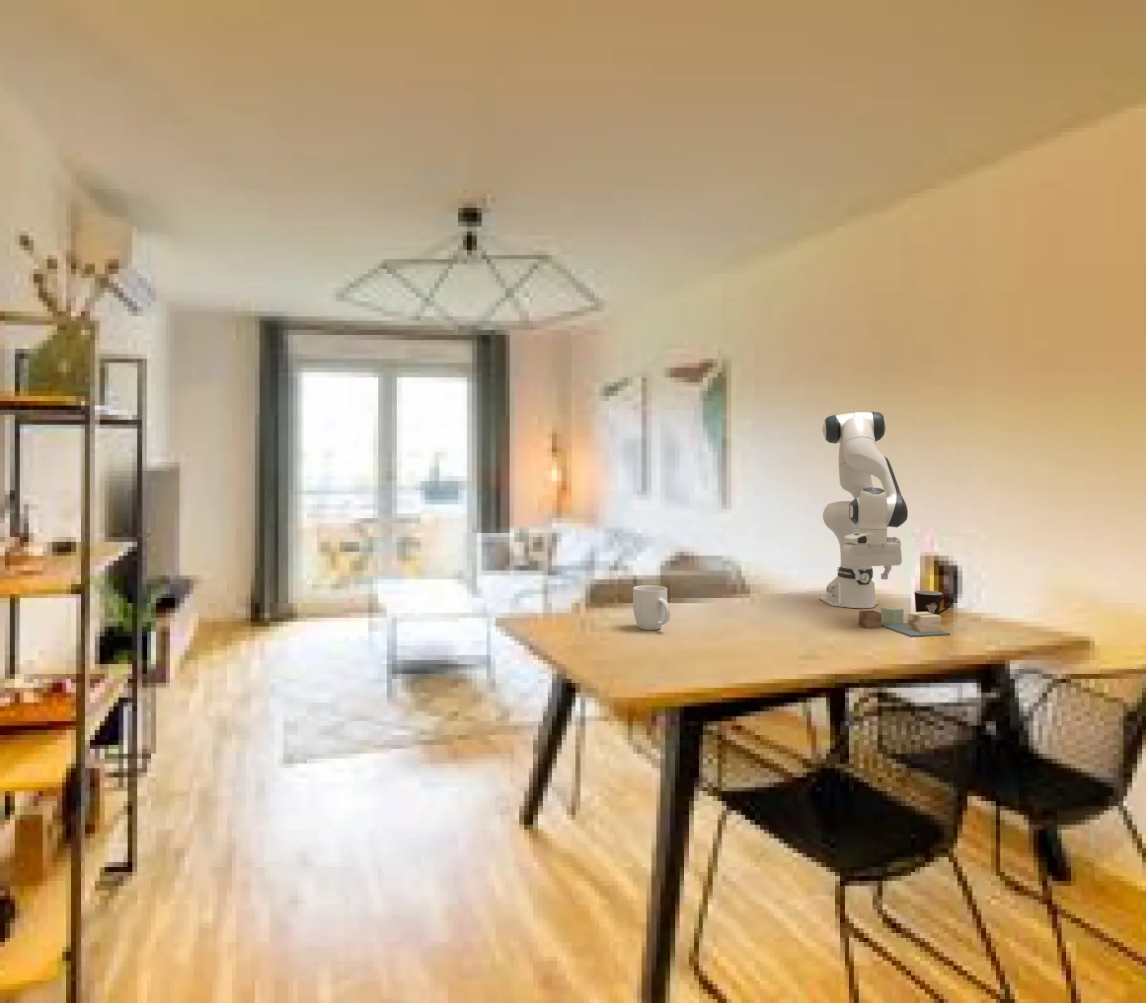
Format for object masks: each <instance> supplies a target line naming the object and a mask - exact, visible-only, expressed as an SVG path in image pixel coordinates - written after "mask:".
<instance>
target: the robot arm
mask: <svg viewBox="0 0 1146 1003" xmlns="http://www.w3.org/2000/svg"><path fill="white" fill-rule="evenodd" d="M886 429H887V420H886V419H885V417H884V415H883V414H882V412H879V411H871V412H870V411H857V412H848V413H842V414H837V415H836V414H833V415H828V416H827V417H826V418H825V419H824V422H823V424H822V434H823V437H824V440H825V441H827V442H828V443H830V444H836V445H837V444H838V443H839V447H838V448H839V449H838V475H839V484H840V485H839V486H841V488H842V489H843V490H844V491H845V492H847V493H850V495H852V497H853V499H852V500H841V501H836V502H831V503H828V504H827V505H826V506H825V507H824V510H823V512H822V520H823V522H824V524H825V526H826V527H827V528H828V529H829V530H830V531H832V532H833V533H834V536H835V537H836V538H837V540H838V544H839V550H840V566H839V567H838V569H836V571H837V574H836V575H837V576H836V577H834V579H833V580H832V581H830V582H829V583H828V584H827V586H826V589H825V590H826V592H825V593H826V594H825V595H821V596H819V600H821V601H823V603H824V602H825V603H827V604H828V605H830V606H832V607H842V608H850V609H871V608H875V607H876V606H877V605H878V604H879V603H878V601H877V600H876V586H875V582H874V581H873V578H874V568H873V567H881V566H882V567H883V569H884V571H883V573H880V579H881V580H888V579H889V574H890V572H891V571H892V566H900V565H901V564H902V563H903V556H902V549H901V548H902V543H901V540H900V539H899V538H898V537H896V536H893V537H892V536H891V537H890V536H889V537H888V528H899V527H901V526H902V525H903V524H905V522H907V520H908V517H909V516H908V510H909V509H908V506H907V503H906V501H905V499H904V498H903V495H902V492H901V490H900V487H899V483H898V481H897V478H896V475H895V472H894V470H893V467H892V465H891V462H890V460H889V459H888V457H886V456H885V455H883V454H882V453H881V452H880V450H879V449H878V447H877V442H878V441H879V440H881V439H882V438H883V437H884V436H885V433H886ZM872 476H874V477H876V478H877V479H878V480H879V481H880V482H881V485H882V488H879V487H874V485H873V481H872Z"/></svg>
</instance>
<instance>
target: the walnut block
mask: <svg viewBox="0 0 1146 1003" xmlns="http://www.w3.org/2000/svg"><path fill="white" fill-rule="evenodd" d="M881 624H882V622H881V612H878V611H875V610H874V609H873V610H872V609H871V610H870V609H869V610H868V609H867V610H858V626H859V627H862V628H864V629H866V630H871V629H882V626H881Z"/></svg>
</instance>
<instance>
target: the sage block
mask: <svg viewBox="0 0 1146 1003" xmlns="http://www.w3.org/2000/svg"><path fill="white" fill-rule="evenodd" d="M904 611H905V609H904V608H900V607H896V606H883V607H881V608H880V613H881V624H898V623H904Z"/></svg>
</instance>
